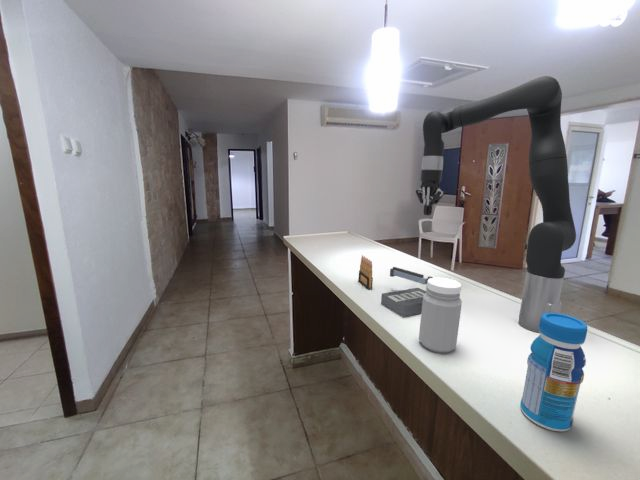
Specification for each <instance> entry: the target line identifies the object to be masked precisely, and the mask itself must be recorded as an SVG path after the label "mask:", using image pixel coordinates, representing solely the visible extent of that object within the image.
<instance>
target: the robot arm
mask: <svg viewBox="0 0 640 480" xmlns="http://www.w3.org/2000/svg"><path fill="white" fill-rule="evenodd" d="M562 97H563V92H562V87H561V85H560V83H559V81H558V79H556V78H555V77H552V76H548V75H545V76H538V77H536V78H534V79H531V80H529V81H528V82H524V83H522V84H520V85H518V86H516V87H513V88H511V89H509V90H506V91H503V92H500V93H498V94H496V95H492V96H489V97H487V98H483V99H480V100H476V101H474V102H469V103H465V104H461V105H459V106H457V107H454V108H453V110H452V111H448V112H445V113H442V112H439V111H436V110H434V111H433V110H432V111H430V112H428V113H427V114H426V115H425V118H424V119H423V124H422V133H423V134H422V135H423V142H424V146H423V156H422V162H421V167H420V169H421V170H420V180H419V181H420V182H421V185H420V188H418V189H416V190H415V193H416V196H417V198H418V201H419V202H420V204H422V205H423V215H425V216H431V215H432V213H433V212H432V211H433V207H434V205H437V204H438V203H439V202H440V200H441V199H442V198H443V196H444V195H445V191H444V190H441V185H440V183H441V182H442V177H443V169H444V153H445V142H444V140H443V139H442V135H443V134H444V133H449V132H452V131H454V130H456V129H459V128H463V127H467V126H472V125H476V124H479V123H483V122H486V121H488V120H490V119H492V118H494V117H496V116H498V115H501V114H505V113H508V112H512V111H518V110H526V111H527V113H528V118H529V125H530V130H531V137H530V138H531V139H530V145H529V152H528V168H529V169H528V170H529V179H530V183H531V186H532V188H533V190H534V192H535V194H536V196H537V198H538V200H539V202H540V205H541V210H542V222H540V223H537V224H536V225H534V226H533V227H532V228H531V230H530V232H529V234H528V238H527V246H526V253H525V255H526V256H525V263H526V266H527V267H526V273H525V274H526V275H525V280H524V285H523V291H522V296H521V303H520V308H519V315H518V324H519V326H521V327H523V328H524V329H526V330H529V331H532V332H534V333H535V332H536V333H540V332H539V324H540V319H541V316H542V314H544V313H559V314H561V312H562V311H561V310H562V305H563V301H561V299H560V298H561V293H562V287H563V283H564V277H565V273H566V272H565V271H566V268H565V267H564V266H563V265H562V263H561V262H562V255H563V252H564V251H568V250H569V249H571V248H572V246H574V244H575V242H576V239H577V231H576V227H575V222H574V221H575V220H574V218H573V213H572V207H571V201H570V185H569V184H570V183H569V168H568V155H567V150H566V144H565V140H564V135H563V132H562V126H561V120H562V119H561V115H562V114H561V113H562V112H561V111H562Z"/></svg>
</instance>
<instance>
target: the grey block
mask: <svg viewBox="0 0 640 480" xmlns="http://www.w3.org/2000/svg"><path fill="white" fill-rule="evenodd" d="M430 278H434V277H433V276H430V275H429V276H427V281H428V279H430ZM426 291H427V286H426V289H425V290H424V289H421V288H420V287H415V288H413V287H412V288H408V289H402V290H396V291H395V290H394V291H389V292H382V293H381V297H380V298H381V299H380V300H381V301H380V305H381V306H384V307H385V308H386V309H389V310H390V311H392V312H393V313H395V314H396V315H398V316H400V317H401V316H402V318H403V319H405V318H409V317H414V316H418V315H421V312H422V303H423V296H424V294H425V293H426Z"/></svg>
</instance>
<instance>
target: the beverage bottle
mask: <svg viewBox="0 0 640 480" xmlns="http://www.w3.org/2000/svg"><path fill="white" fill-rule="evenodd" d="M588 330H589V329H588V324H586V323H585V322H584V321H582V320H581V319H579V318H577V317H574V316H572V315H571V316H570V315H567V314H562V313H560V314H559V313H544V314H542V316H541V319H540V324H539V332H538V333H540V334H539V335H538V336H537V337H535V339H534V340H533V341H532V342H531V345H530V351H531V353H530V354H529V355H528V357H527V360H526V364H527V368H526V369H527V370H526V375H525V379H524V386H523V393H522V396H521V398H520V399H521V400H520V404H519V405H520V409H521V411H522V413H523V415H524V416H525V417H526V418H527V419H529V420H530V422H532V423H534V424H536V425H538V426H539V427H542V428H544V429H546V430H549V431H554V432H567V431H569V430H571V429H572V426H573V422H574V414H575V410H576V405H577V401H578V396H579V392H580V388H581V384H582V383H583V382H584V379H585V372H584V370H583V368H585V367H586V365H587V359H586V354H585V352H584V350H583V348H582V347H581V346H583V344H584V343H585V342H586V338H587V333H588Z"/></svg>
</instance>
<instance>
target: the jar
mask: <svg viewBox="0 0 640 480" xmlns="http://www.w3.org/2000/svg"><path fill="white" fill-rule="evenodd" d="M426 287H427V291H426V290H425V291H426V293H425V294H424V296H423V303H422V312H421V314H420V323H419V333H418V334H419V335H418V340H419V342H420V343H421V345H422V346H423V347H424V348H425V349H427V350H429V351H431V352H434V353H439V354H448V353H450V352H452V351H453V350H455V349H457V342H458V335H459V327H460V321H461V312H462V311H461V310H462V302H463V301H462V300H461V298H460V297H461V290H462V284H461V282H458V280H455V279H452V278H447V277H437V276H436V277H433V278H430V279H428V281H427V284H426Z"/></svg>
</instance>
